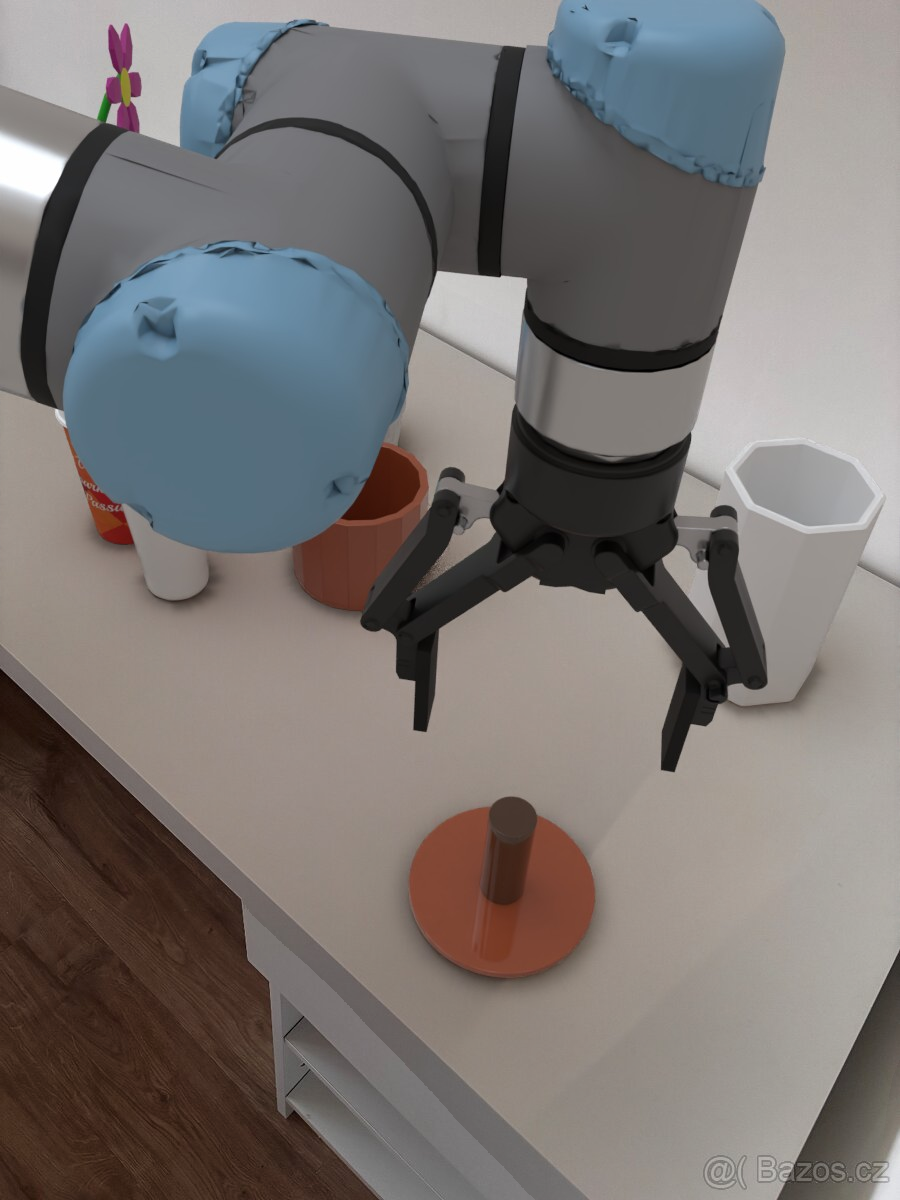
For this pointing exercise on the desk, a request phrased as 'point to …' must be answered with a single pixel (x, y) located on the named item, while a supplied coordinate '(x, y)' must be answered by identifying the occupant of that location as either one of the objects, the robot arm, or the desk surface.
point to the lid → (501, 890)
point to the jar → (365, 532)
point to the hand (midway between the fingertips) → (544, 732)
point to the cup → (793, 550)
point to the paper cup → (100, 501)
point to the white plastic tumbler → (167, 561)
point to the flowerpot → (121, 81)
